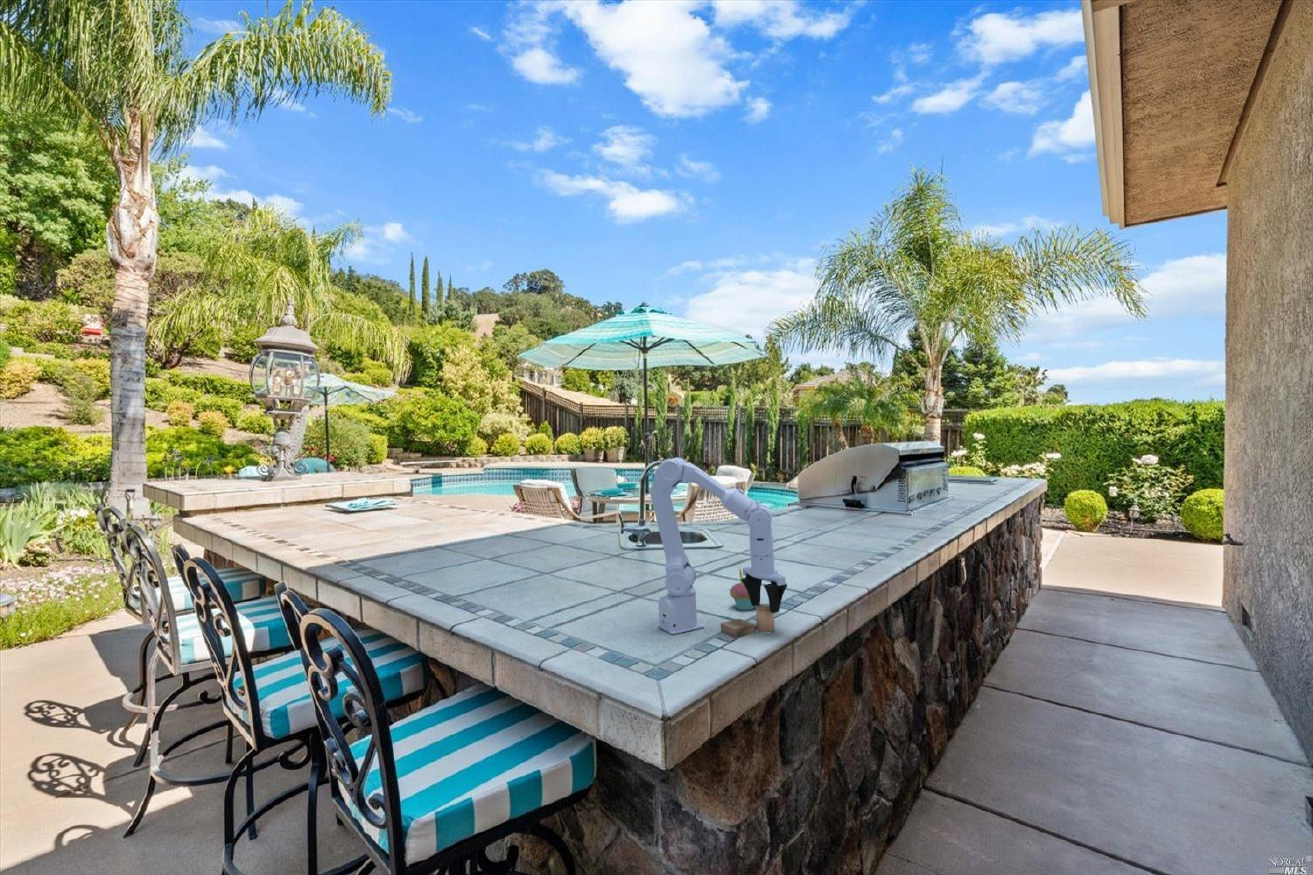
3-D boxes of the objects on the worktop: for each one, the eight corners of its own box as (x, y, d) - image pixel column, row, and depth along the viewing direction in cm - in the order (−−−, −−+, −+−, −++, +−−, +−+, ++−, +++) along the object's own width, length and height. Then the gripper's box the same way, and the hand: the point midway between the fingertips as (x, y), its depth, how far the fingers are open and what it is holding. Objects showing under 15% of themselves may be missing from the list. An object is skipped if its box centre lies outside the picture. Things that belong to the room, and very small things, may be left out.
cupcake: (751, 613, 158) (749, 570, 158) (724, 609, 163) (722, 567, 163) (765, 605, 165) (763, 563, 165) (739, 601, 170) (737, 561, 170)
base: (735, 637, 140) (734, 629, 140) (721, 631, 145) (720, 623, 145) (754, 632, 143) (754, 624, 143) (740, 626, 148) (739, 618, 148)
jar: (764, 634, 141) (763, 609, 141) (753, 629, 145) (752, 605, 145) (778, 630, 143) (777, 606, 143) (767, 626, 147) (766, 602, 147)
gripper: (793, 556, 140) (797, 612, 140) (756, 548, 153) (759, 599, 153) (771, 560, 137) (774, 617, 137) (735, 552, 149) (738, 604, 149)
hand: (765, 608), depth 144 cm, fingers open, 7 cm apart
